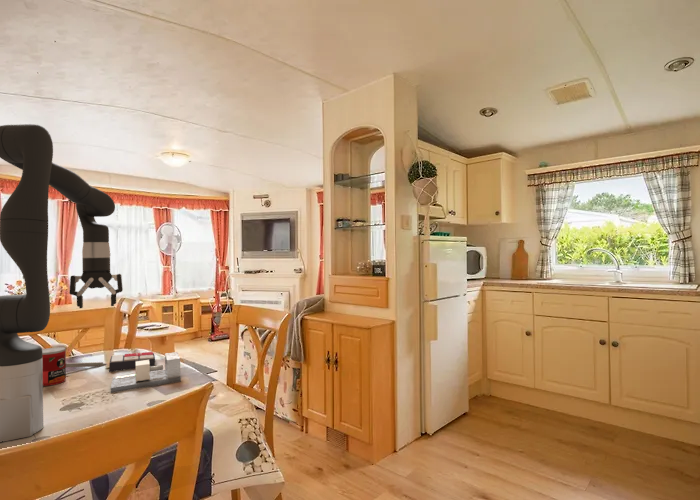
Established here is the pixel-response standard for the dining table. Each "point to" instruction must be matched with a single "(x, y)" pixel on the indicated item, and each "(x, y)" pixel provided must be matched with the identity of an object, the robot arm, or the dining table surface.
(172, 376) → the gauge base
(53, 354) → the canned food
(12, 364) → the robot arm
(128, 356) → the calculator
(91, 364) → the caliper
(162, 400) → the dining table surface
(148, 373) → the block
